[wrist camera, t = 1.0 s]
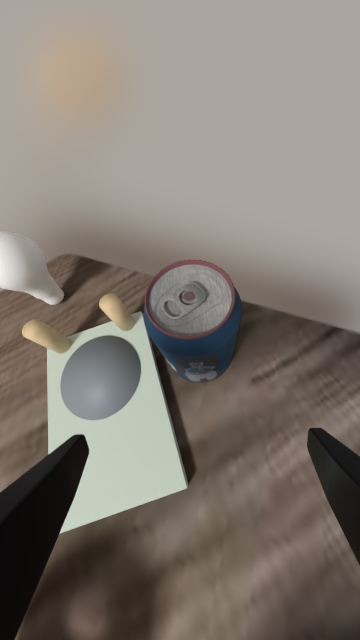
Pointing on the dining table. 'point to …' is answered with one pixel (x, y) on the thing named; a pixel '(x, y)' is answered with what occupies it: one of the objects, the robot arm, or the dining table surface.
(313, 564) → the dining table surface
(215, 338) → the soda can
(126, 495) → the board
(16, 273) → the lightbulb
